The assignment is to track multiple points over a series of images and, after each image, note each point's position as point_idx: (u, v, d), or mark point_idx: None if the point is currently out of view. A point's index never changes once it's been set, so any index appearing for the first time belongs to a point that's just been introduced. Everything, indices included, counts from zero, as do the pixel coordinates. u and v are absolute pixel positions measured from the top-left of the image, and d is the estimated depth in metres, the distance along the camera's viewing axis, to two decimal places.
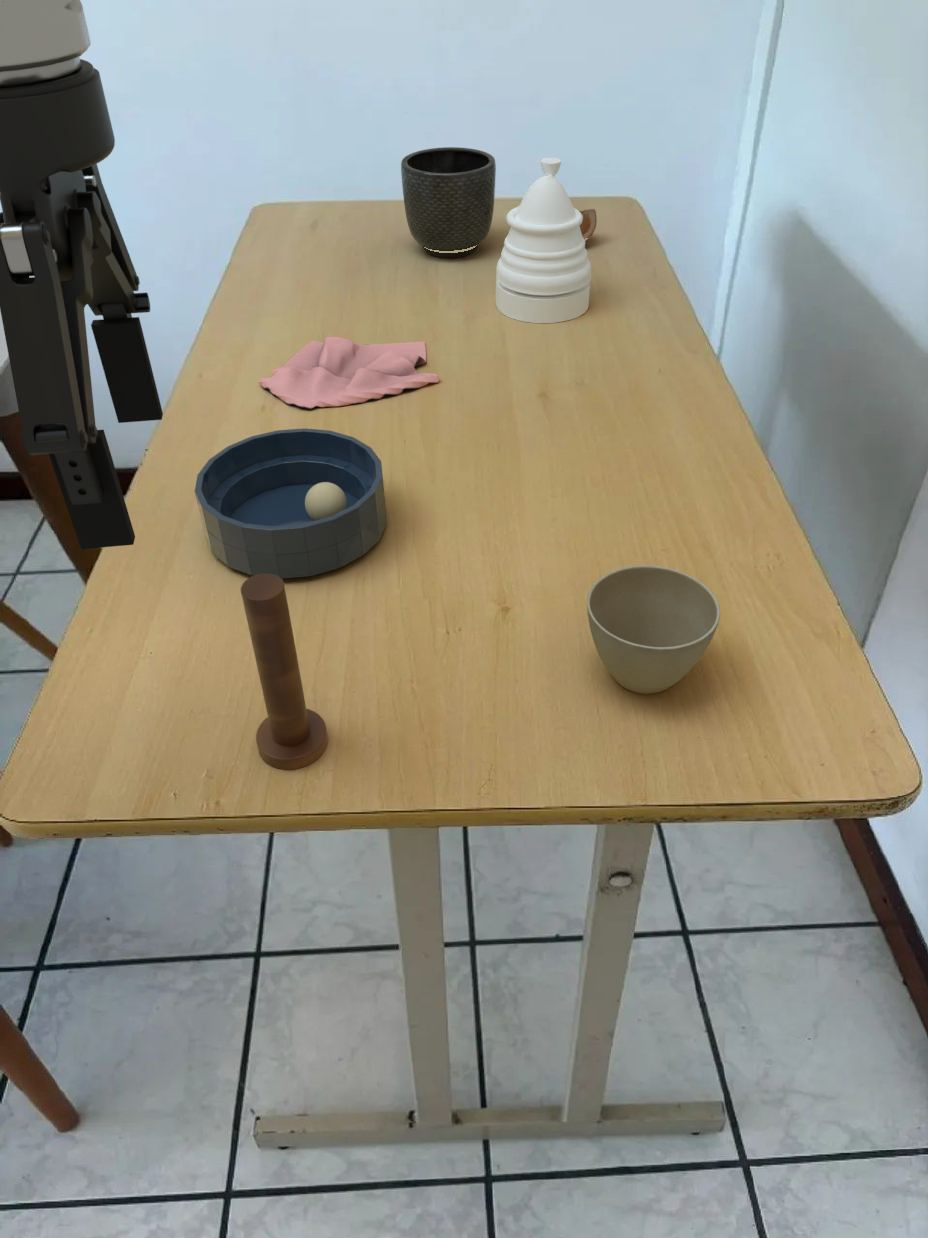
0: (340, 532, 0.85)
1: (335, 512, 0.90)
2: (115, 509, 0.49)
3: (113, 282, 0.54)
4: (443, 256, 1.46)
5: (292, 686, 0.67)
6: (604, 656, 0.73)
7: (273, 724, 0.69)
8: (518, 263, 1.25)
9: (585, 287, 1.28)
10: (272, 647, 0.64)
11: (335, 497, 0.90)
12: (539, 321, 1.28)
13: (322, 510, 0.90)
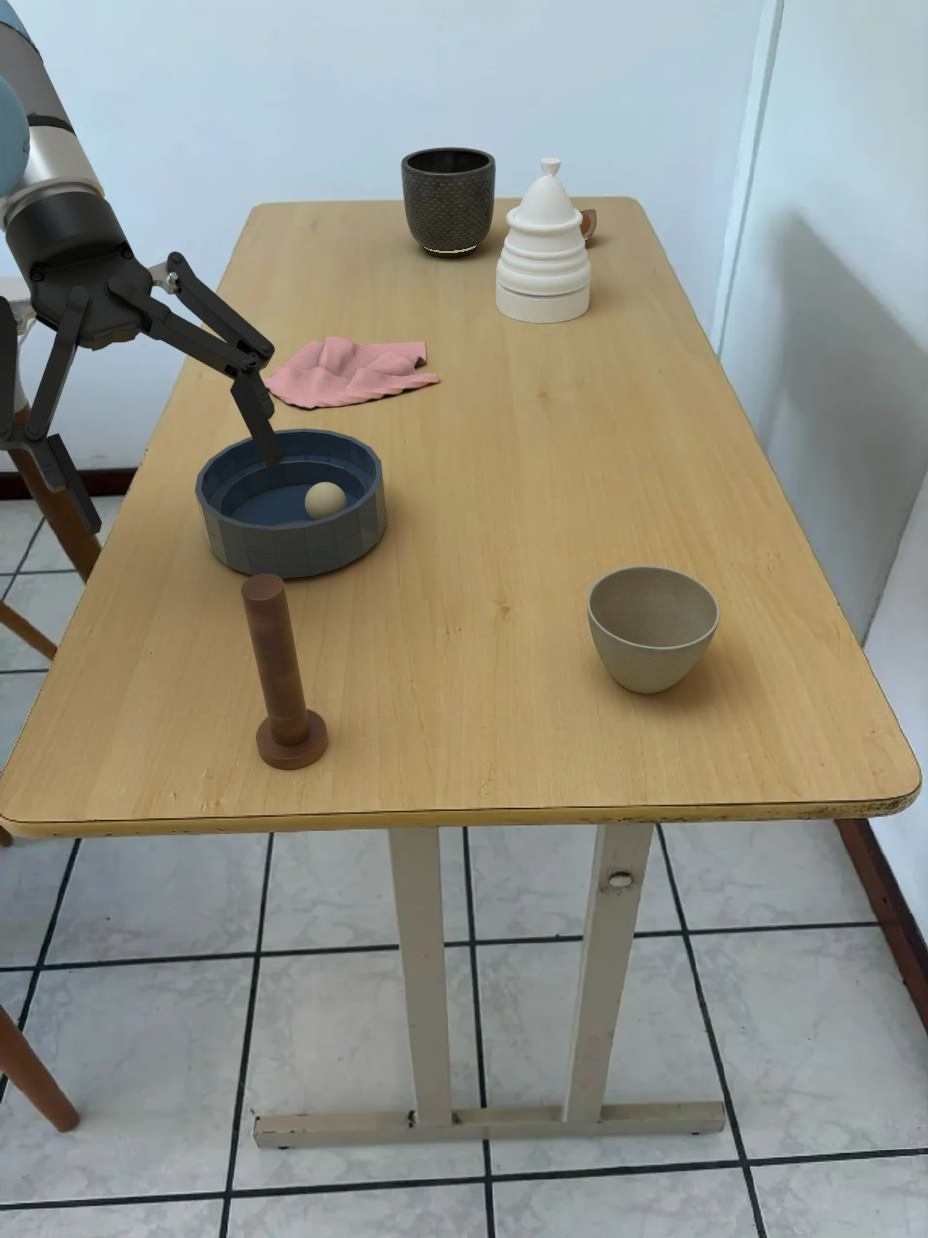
0: (340, 532, 0.85)
1: (335, 512, 0.90)
2: None
3: (59, 397, 0.66)
4: (443, 256, 1.46)
5: (292, 686, 0.67)
6: (604, 656, 0.73)
7: (273, 724, 0.69)
8: (518, 263, 1.25)
9: (585, 287, 1.28)
10: (272, 647, 0.64)
11: (335, 497, 0.90)
12: (539, 321, 1.28)
13: (322, 510, 0.90)
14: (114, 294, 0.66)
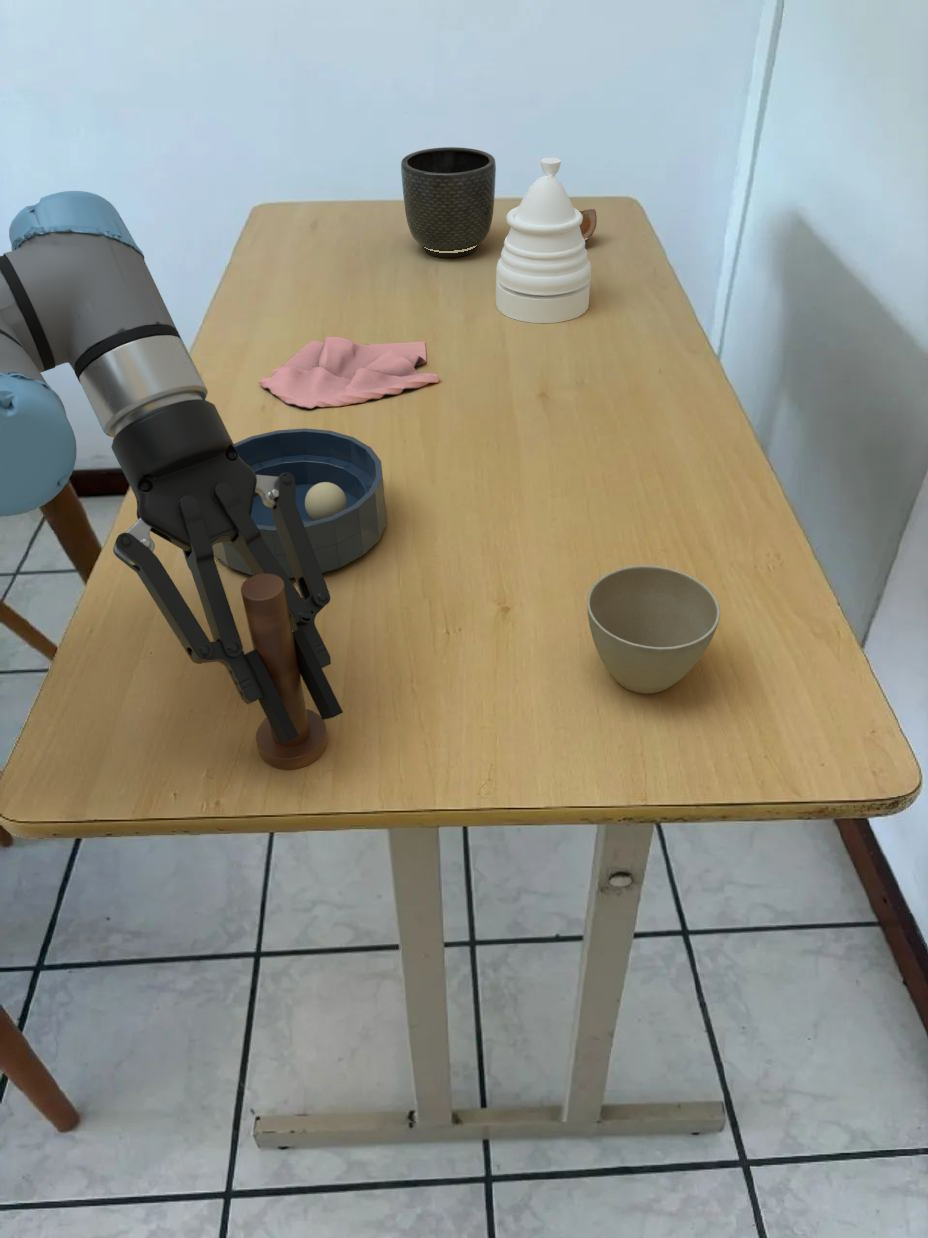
0: (340, 532, 0.85)
1: (335, 512, 0.90)
2: None
3: None
4: (443, 256, 1.46)
5: (292, 686, 0.67)
6: (604, 656, 0.73)
7: None
8: (518, 263, 1.25)
9: (585, 287, 1.28)
10: (272, 647, 0.64)
11: (335, 497, 0.90)
12: (539, 321, 1.28)
13: (322, 510, 0.90)
14: None
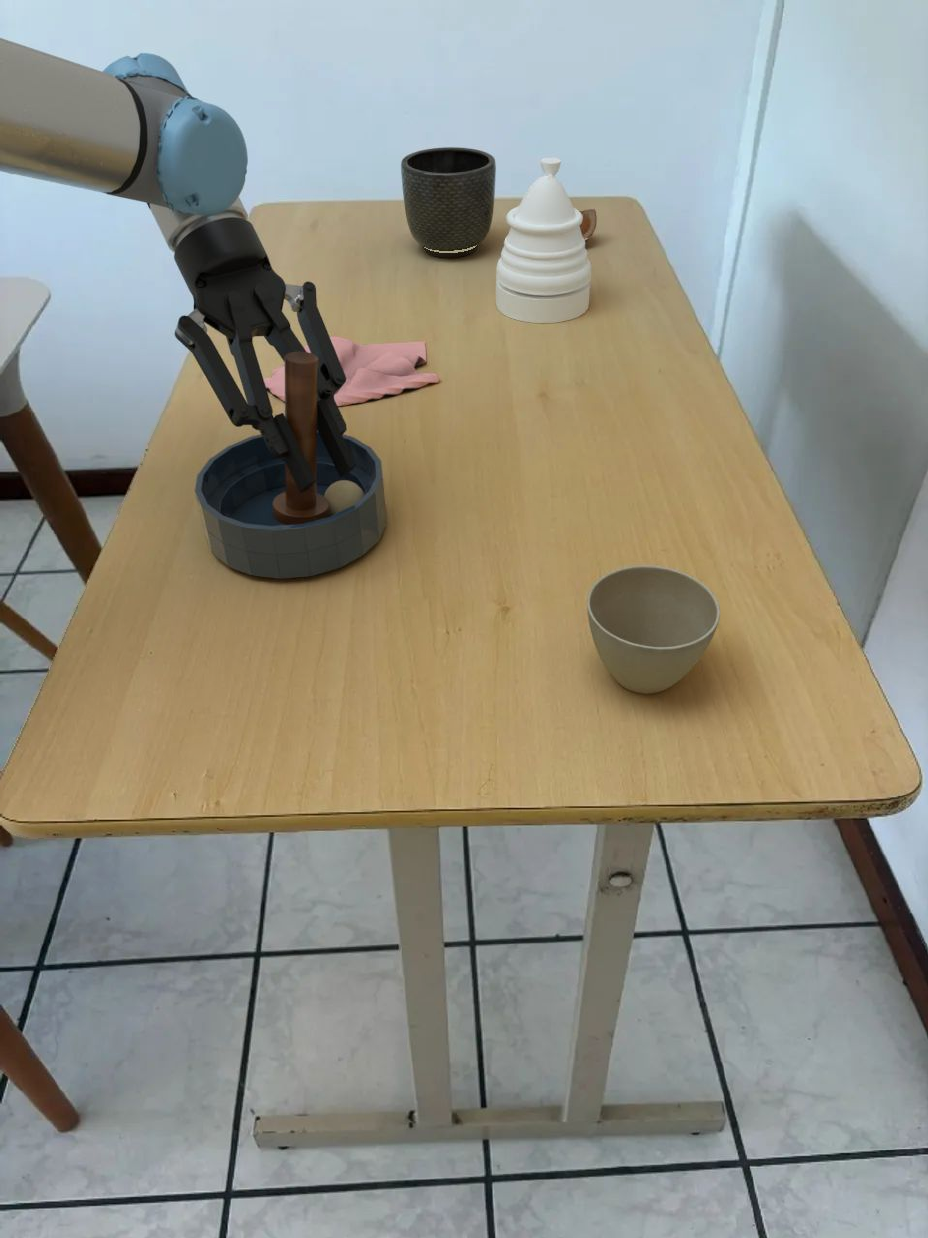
0: (340, 532, 0.85)
1: None
2: None
3: None
4: (443, 256, 1.46)
5: (311, 451, 0.85)
6: (604, 656, 0.73)
7: (289, 487, 0.87)
8: (518, 263, 1.25)
9: (585, 287, 1.28)
10: (302, 409, 0.82)
11: None
12: (539, 321, 1.28)
13: (345, 506, 0.90)
14: None
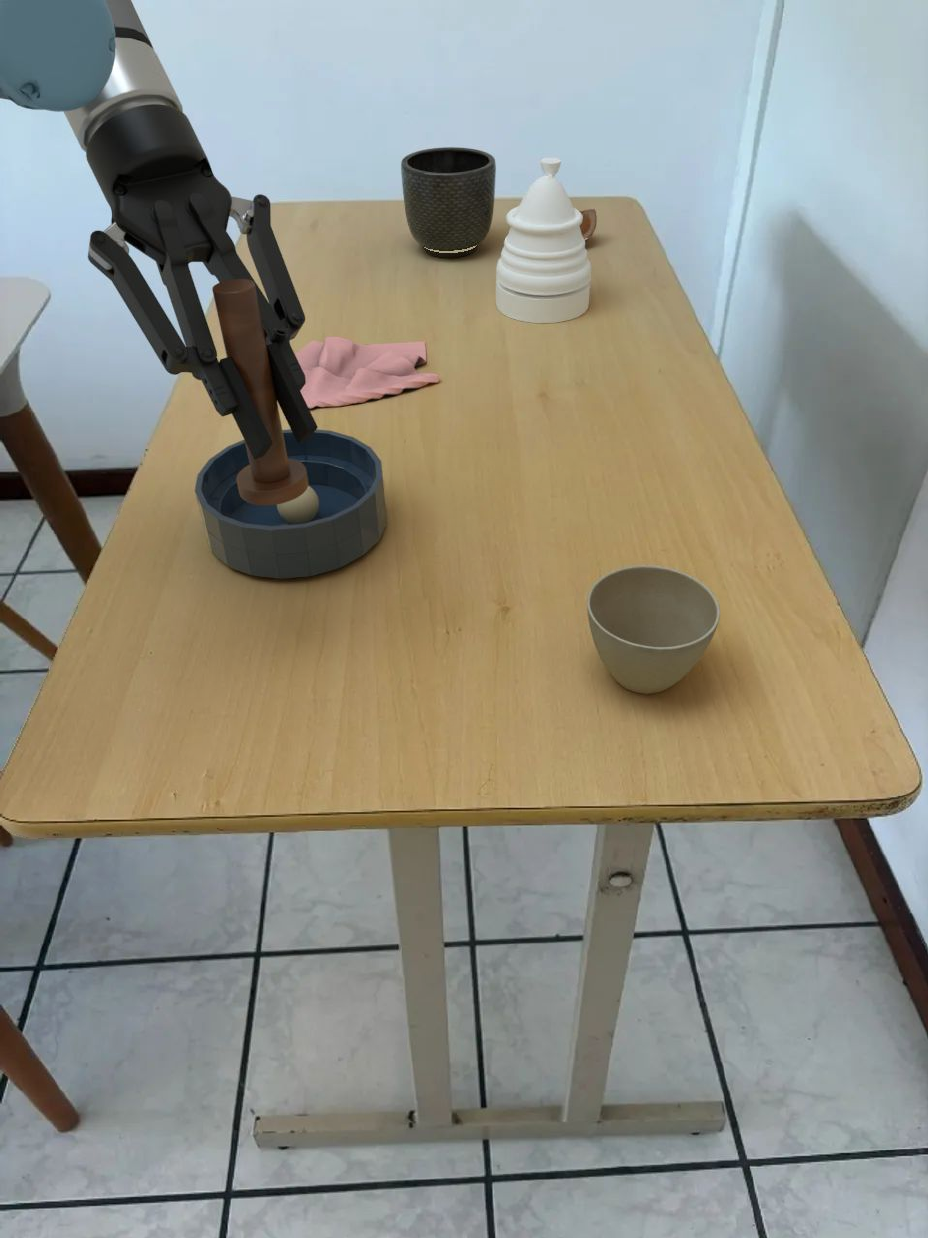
0: (340, 532, 0.85)
1: (309, 521, 0.92)
2: None
3: None
4: (443, 256, 1.45)
5: (266, 407, 0.67)
6: (604, 656, 0.73)
7: (249, 455, 0.69)
8: (518, 263, 1.25)
9: (585, 287, 1.28)
10: (242, 353, 0.64)
11: (303, 515, 0.90)
12: (539, 321, 1.28)
13: None
14: None
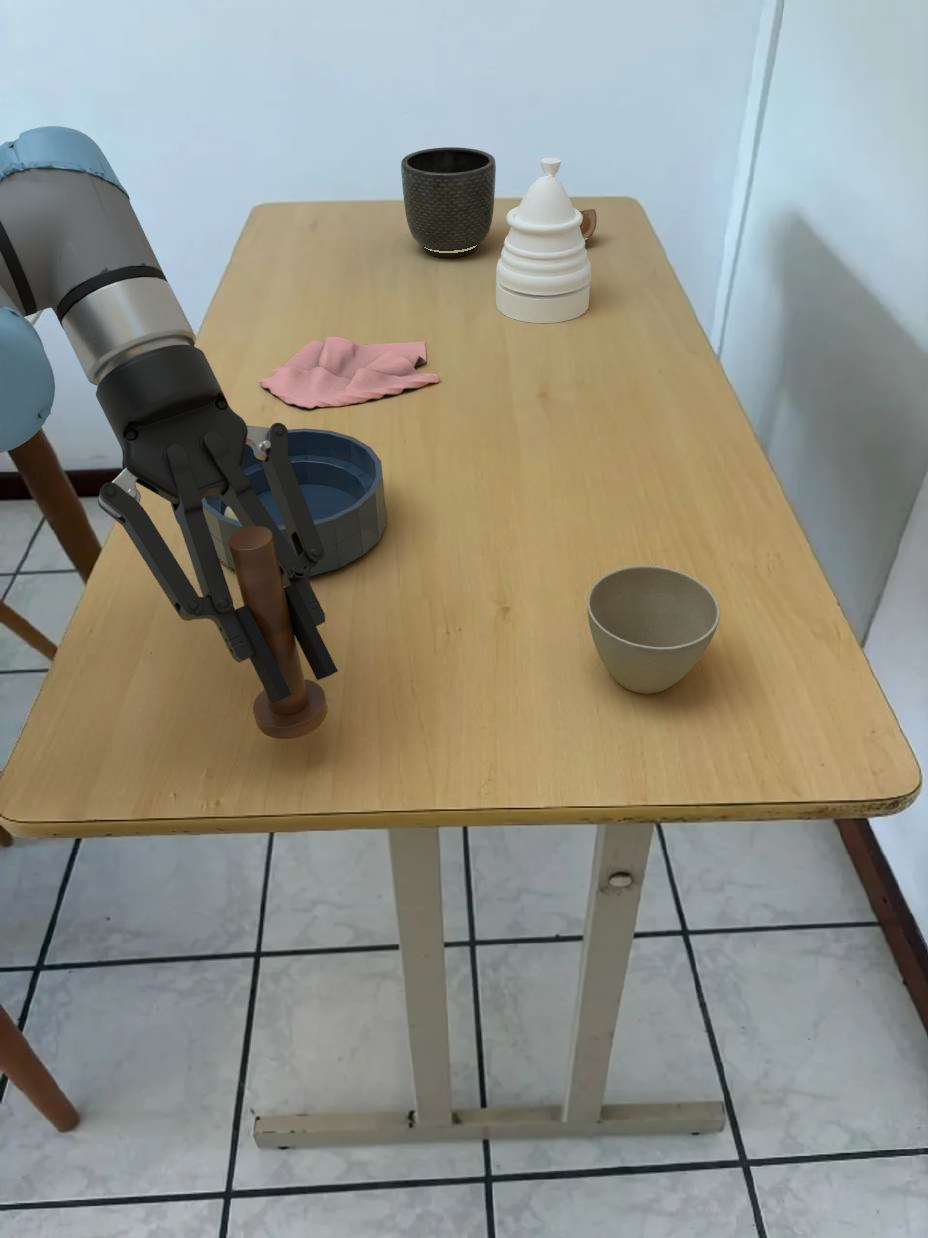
0: (340, 532, 0.85)
1: None
2: None
3: None
4: (443, 256, 1.46)
5: (283, 649, 0.64)
6: (604, 656, 0.73)
7: None
8: (518, 263, 1.25)
9: (585, 287, 1.28)
10: (259, 603, 0.61)
11: None
12: (539, 321, 1.28)
13: None
14: None
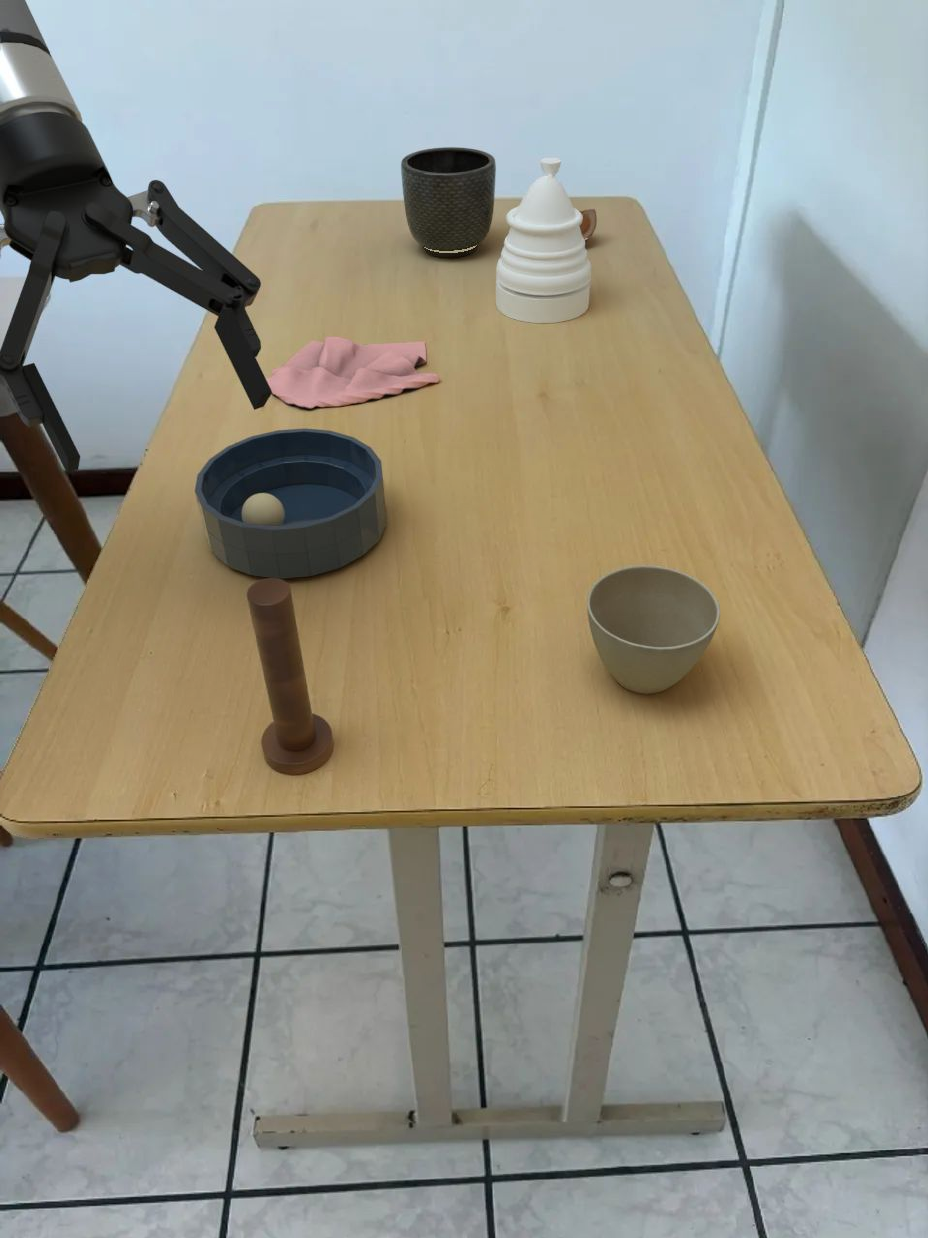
0: (340, 532, 0.85)
1: (279, 513, 0.89)
2: None
3: (35, 329, 0.63)
4: (443, 256, 1.46)
5: (295, 692, 0.66)
6: (604, 656, 0.73)
7: (276, 727, 0.69)
8: (518, 263, 1.25)
9: (585, 287, 1.28)
10: (275, 652, 0.63)
11: None
12: (539, 321, 1.28)
13: None
14: (92, 221, 0.63)
